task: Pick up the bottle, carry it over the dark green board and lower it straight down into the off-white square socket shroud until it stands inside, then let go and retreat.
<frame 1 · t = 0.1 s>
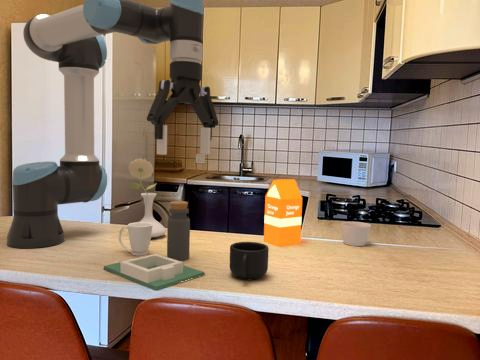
hand: (184, 154, 99), 28 cm above the counter, fingers open, 13 cm apart
orange juice: (281, 243, 132), on the counter
candle: (354, 244, 133), on the counter
cup: (135, 253, 115), on the counter
flower in vase: (145, 236, 135), on the counter
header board: (153, 272, 99), on the counter
bottle: (178, 258, 111), on the counter
mug: (247, 278, 97), on the counter
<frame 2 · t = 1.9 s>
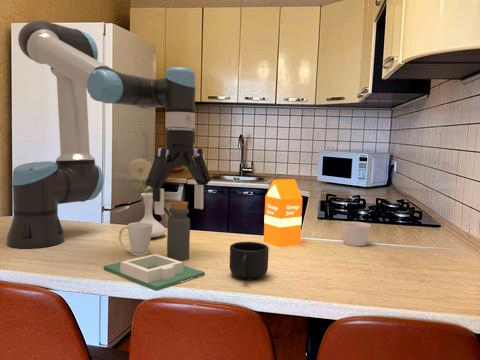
hand: (179, 211, 110), 13 cm above the counter, fingers open, 13 cm apart
nothing on the counter moved.
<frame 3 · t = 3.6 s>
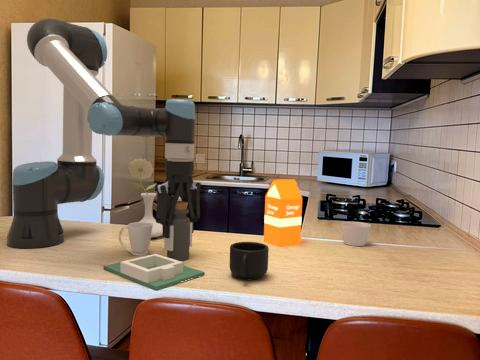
hand: (178, 247, 111), 3 cm above the counter, fingers closed on bottle, 6 cm apart
bottle: (178, 258, 111), on the counter, touching gripper
everything else where it was.
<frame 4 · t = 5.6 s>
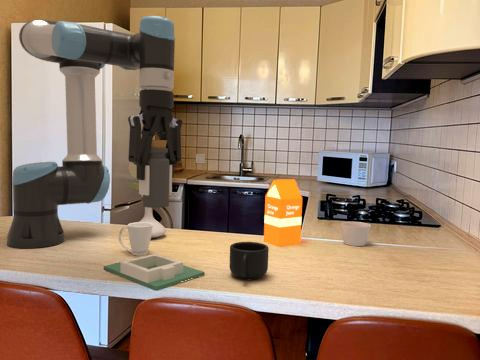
hand: (155, 193, 95), 19 cm above the counter, fingers closed on bottle, 6 cm apart
bottle: (155, 206, 96), point 16 cm above the counter, touching gripper
everything else where it was.
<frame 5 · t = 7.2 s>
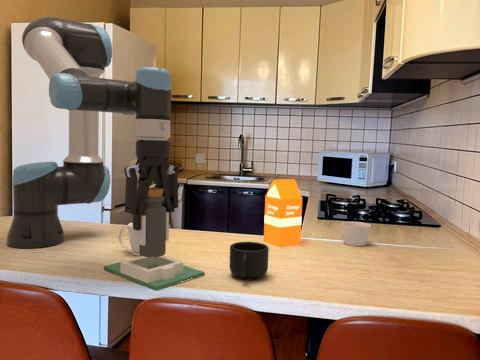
hand: (152, 241, 95), 8 cm above the counter, fingers closed on bottle, 6 cm apart
bottle: (152, 254, 95), point 5 cm above the counter, touching gripper
everything else where it was.
when the fingers open (5 cm above the counter, at t = 8.0 s): bottle drops 1 cm, resting on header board.
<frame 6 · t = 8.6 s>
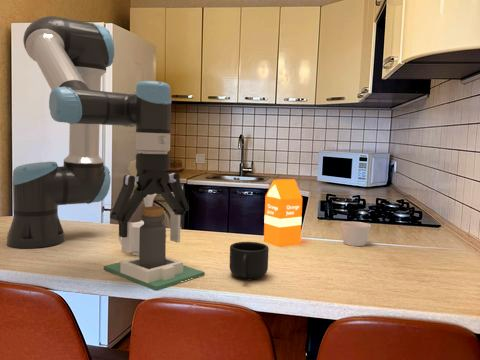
hand: (152, 246, 95), 7 cm above the counter, fingers open, 13 cm apart
bottle: (152, 273, 96), point 1 cm above the counter, touching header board
everything else where it was.
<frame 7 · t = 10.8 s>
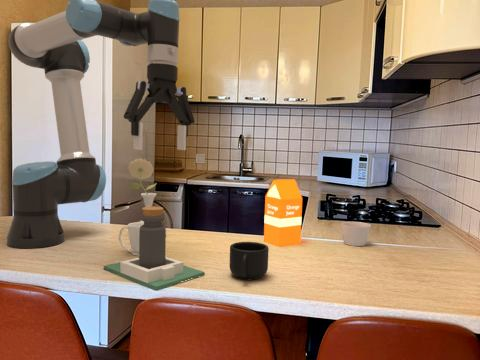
hand: (160, 149, 107), 29 cm above the counter, fingers open, 13 cm apart
nothing on the counter moved.
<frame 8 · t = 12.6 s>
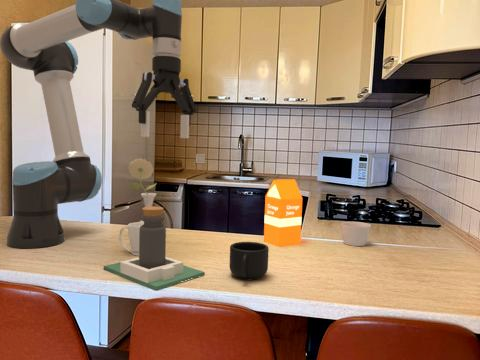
hand: (165, 137, 113), 32 cm above the counter, fingers open, 13 cm apart
nothing on the counter moved.
at the end: bottle 0.1 cm from the target spot on the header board, point 0.6 cm above the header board's base; bottle tilted 0°; the gripper is holding nothing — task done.
